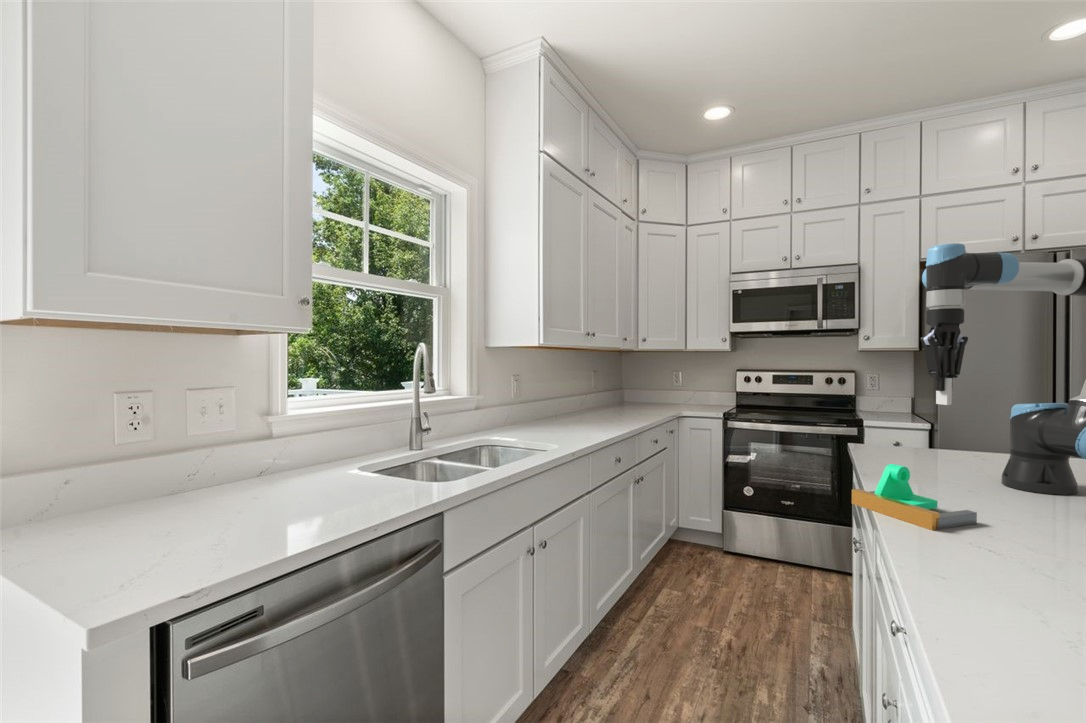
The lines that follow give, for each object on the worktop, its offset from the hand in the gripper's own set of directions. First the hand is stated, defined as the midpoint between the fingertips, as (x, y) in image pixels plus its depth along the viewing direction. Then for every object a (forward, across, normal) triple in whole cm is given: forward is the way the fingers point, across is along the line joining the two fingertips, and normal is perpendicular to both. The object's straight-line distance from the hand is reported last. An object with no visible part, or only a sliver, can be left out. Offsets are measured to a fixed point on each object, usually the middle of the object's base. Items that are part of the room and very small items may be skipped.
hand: (943, 404), depth 131 cm
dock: (+24, +15, +4) cm, 29 cm away
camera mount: (+25, +14, +1) cm, 28 cm away
